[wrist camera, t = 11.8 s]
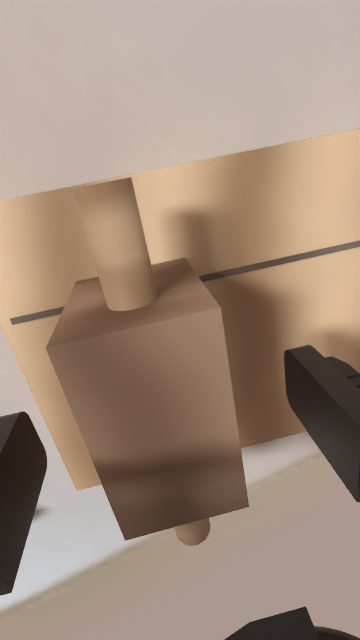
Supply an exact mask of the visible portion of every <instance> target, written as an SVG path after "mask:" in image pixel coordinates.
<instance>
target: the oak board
mask: <svg viewBox="0 0 360 640" xmlns="http://www.w3.org/2000/svg"><path fill="white" fill-rule="evenodd" d="M129 177H131V178H132V182H133V187H134V191H135V195H136V200H137V204H138V209H139V213H140V217H141V222H142V226H143V231H144V235H145V240H146V244H147V248H148V253H149V257H150V262H151V265H153V264H158V263H162V262H167V261H171V260H176V259H180V258H186V260H187V261H188V263H189V264H190V265H191V267H192V268H193V270H194V271H195V272H196V274H197V275H198V277H199V278H200V279H201V281H202V282H203V284H204V285H205V286H206V288H207V289H208V291H209V292H210V293H211V295H212V296H213V297H214V299H215V300H216V302H217V303H218V304H219V306H220V307H221V313H222V320H223V327H224V334H225V341H226V348H227V355H228V362H229V370H230V377H231V384H232V391H233V398H234V405H235V412H236V419H237V426H238V433H239V440H240V447H241V448H243V447H247V446H251V445H255V444H259V443H262V442H266V441H270V440H274V439H278V438H282V437H286V436H289V435H293V434H297V433H301V432H305V431H307V430H306V429H305V427H304V426H303V425H302V423H301V422H300V420H299V419H298V417H297V416H296V415H295V413H294V412H293V410H292V408H291V406H290V404H289V402H288V399H287V395H286V386H285V369H284V352H285V350H288V349H292V348H297V347H301V346H305V345H311V346H313V347H314V348H315V349H316V350H317V351H318V352H319V353H320V354H321V355H323V356H324V357H325V358H326V357H330V356H332V357H334V358H337V359H339V360H341V361H344V362H346V363H348V364H349V365H350V366H352V367H353V368H354V369H355V370H356V371H358V372H359V373H360V129H356V130H351V131H346V132H341V133H336V134H331V135H326V136H321V137H316V138H311V139H306V140H301V141H296V142H291V143H286V144H281V145H276V146H271V147H266V148H261V149H256V150H251V151H246V152H241V153H236V154H231V155H226V156H221V157H216V158H211V159H206V160H201V161H196V162H192V163H187V164H182V165H177V166H172V167H167V168H162V169H157V170H152V171H147V172H142V173H137V174H132V175H127V176H122V177H117V178H112V179H107V180H102V181H97V182H92V183H87V184H82V185H77V186H72V187H67V188H62V189H57V190H52V191H47V192H42V193H37V194H32V195H27V196H23V197H18V198H13V199H8V200H3V201H0V324H1V326H2V328H3V331H4V333H5V335H6V337H7V339H8V341H9V344H10V346H11V348H12V350H13V352H14V355H15V357H16V359H17V361H18V363H19V366H20V368H21V370H22V372H23V374H24V376H25V379H26V381H27V383H28V385H29V387H30V390H31V392H32V394H33V396H34V398H35V401H36V403H37V405H38V407H39V409H40V411H41V414H42V416H43V418H44V420H45V422H46V425H47V427H48V429H49V431H50V433H51V436H52V438H53V440H54V442H55V444H56V446H57V449H58V451H59V453H60V455H61V457H62V460H63V462H64V464H65V466H66V468H67V471H68V473H69V475H70V477H71V479H72V481H73V484H74V486H75V488H76V490H81V489H85V488H89V487H93V486H97V485H101V484H102V483H101V481H100V478H99V476H98V474H97V471H96V469H95V466H94V464H93V462H92V459H91V457H90V454H89V452H88V450H87V447H86V445H85V442H84V440H83V437H82V435H81V433H80V430H79V428H78V425H77V423H76V421H75V418H74V416H73V413H72V411H71V409H70V406H69V404H68V401H67V399H66V396H65V394H64V392H63V389H62V387H61V384H60V382H59V380H58V377H57V375H56V372H55V370H54V368H53V365H52V363H51V360H50V358H49V355H48V353H47V351H46V346H47V344H48V342H49V340H50V337H51V335H52V333H53V331H54V329H55V327H56V324H57V322H58V320H59V318H60V316H61V314H62V311H63V309H64V307H65V305H66V303H67V300H68V298H69V296H70V294H71V292H72V290H73V287H74V285H75V283H76V281H81V280H85V279H90V278H94V277H99V276H98V273H97V270H96V266H95V263H94V260H93V256H92V253H91V250H90V246H89V243H88V240H87V237H86V233H85V230H84V227H83V223H82V220H81V217H80V213H79V210H78V207H77V203H76V200H75V197H74V193H73V190H72V189H75V188H80V187H85V186H89V185H94V184H99V183H104V182H109V181H114V180H119V179H124V178H129Z"/></svg>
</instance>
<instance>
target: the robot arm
mask: <svg viewBox="0 0 360 640" xmlns="http://www.w3.org/2000/svg"><path fill="white" fill-rule="evenodd" d="M284 369H285V386H286V395H287V399H288V402H289V404H290V406H291V408H292V410H293V412H294V413H295V415H296V416H297V417H298V419H299V420H300V422H301V423H302V425H303V426H304V427H305V429H306V430H307V432H308V433H309V435H310V436H311V437H312V439H313V440H314V442H315V443H316V445H317V446H318V447H319V449H320V450H321V452H322V453H323V454H324V456H325V457H326V459H327V460H328V462H329V463H330V464H331V466H332V467H333V469H334V470H335V472H336V473H337V474H338V476H339V477H340V479H341V480H342V482H343V483H344V484H345V486H346V487H347V489H348V490H349V492H350V493H351V494H352V496H353V497H354V499H355V500H356V502H360V373H359V372H358V371H356V370H355V369H354V368H353V367H352V366H350V365H349V364H348V363H346V362H344V361H341V360H339V359H337V358H334V357H332V356H330V357H326V358H325V357H324V356H323V355H321V354H320V353H319V352H318V351H317V350H316V349H315V348H314V347H313V346H311V345H305V346H301V347H297V348H292V349H288V350H285V352H284ZM46 469H47V456H46V451H45V449H44V446H43V444H42V442H41V440H40V438H39V436H38V434H37V432H36V430H35V428H34V425H33V423H32V421H31V419H30V417H29V415H28V414H27V413H26V412H19V413H15V414H10V415H6V416H2V417H0V595H4V594H8V593H12V589H13V586H14V582H15V579H16V575H17V572H18V568H19V564H20V561H21V557H22V554H23V550H24V547H25V543H26V540H27V536H28V533H29V529H30V526H31V522H32V519H33V515H34V512H35V508H36V505H37V501H38V498H39V494H40V491H41V487H42V484H43V480H44V477H45V473H46ZM225 640H360V638H357V637H356V636H353V635H350V634H348V633H345V632H342V631H339V630H335V629H330V628H326V627H317V626H314V625H313V623H312V621H311V618H310V616H309V613H308V611H307V608H306V607H302V608H299V609H296V610H292V611H288V612H285V613H281V614H277V615H274V616H270V617H267V618H263V619H260V620H256V621H253V622H249V623H248V624H247V625H245V626H244V627H242V628H241V629H239V630H238V631H236V632H235V633H233V634H232V635H230V636H229V637H228V638H226V639H225Z"/></svg>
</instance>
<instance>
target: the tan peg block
mask: <svg viewBox="0 0 360 640" xmlns="http://www.w3.org/2000/svg"><path fill="white" fill-rule="evenodd" d="M72 190H73V193H74V197H75V200H76V203H77V207H78V210H79V213H80V217H81V220H82V223H83V227H84V230H85V233H86V237H87V240H88V243H89V246H90V250H91V253H92V256H93V260H94V263H95V266H96V270H97V273H98V276H99V277H94V278H90V279H85V280H81V281H76V283H75V285H74V287H73V290H72V292H71V294H70V296H69V298H68V300H67V303H66V305H65V307H64V309H63V311H62V314H61V316H60V318H59V320H58V322H57V324H56V327H55V329H54V331H53V333H52V335H51V337H50V340H49V342H48V344H47V346H46V351H47V353H48V355H49V358H50V360H51V363H52V365H53V368H54V370H55V372H56V375H57V377H58V380H59V382H60V384H61V387H62V389H63V392H64V394H65V396H66V399H67V401H68V404H69V406H70V409H71V411H72V413H73V416H74V418H75V421H76V423H77V425H78V428H79V430H80V433H81V435H82V437H83V440H84V442H85V445H86V447H87V450H88V452H89V454H90V457H91V459H92V462H93V464H94V466H95V469H96V471H97V474H98V476H99V478H100V481H101V483H102V486H103V488H104V490H105V493H106V495H107V498H108V500H109V503H110V505H111V507H112V510H113V512H114V515H115V517H116V519H117V522H118V524H119V527H120V529H121V531H122V534H123V536H124V539H125V540H129V539H133V538H136V537H140V536H144V535H147V534H151V533H155V532H158V531H162V530H166V529H169V528H173V527H174V528H175V531H176V534H177V537H178V539H179V540H180V541H181V542H182V543H184V544H186V545H190V546H193V545H198V544H200V543H201V542H203V541H204V540H205V539H206V537H207V536H208V534H209V531H210V522H209V518H210V517H213V516H216V515H221V514H224V513H228V512H231V511H235V510H239V509H243V508H246V507H249V504H248V497H247V490H246V483H245V475H244V468H243V461H242V454H241V447H240V440H239V433H238V426H237V419H236V412H235V405H234V398H233V391H232V384H231V377H230V370H229V362H228V355H227V348H226V341H225V334H224V327H223V320H222V313H221V307H220V306H219V304H218V303H217V302H216V300H215V299H214V297H213V296H212V295H211V293H210V292H209V291H208V289H207V288H206V286H205V285H204V284H203V282H202V281H201V279H200V278H199V277H198V275H197V274H196V272H195V271H194V270H193V268H192V267H191V265H190V264H189V263H188V261H187V260H186V258H180V259H176V260H171V261H167V262H162V263H158V264H153V265H151V262H150V257H149V253H148V248H147V244H146V240H145V235H144V231H143V226H142V222H141V217H140V213H139V209H138V204H137V200H136V195H135V191H134V187H133V182H132V178H131V177H129V178H124V179H119V180H114V181H109V182H104V183H99V184H94V185H89V186H85V187H80V188H75V189H72Z"/></svg>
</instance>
